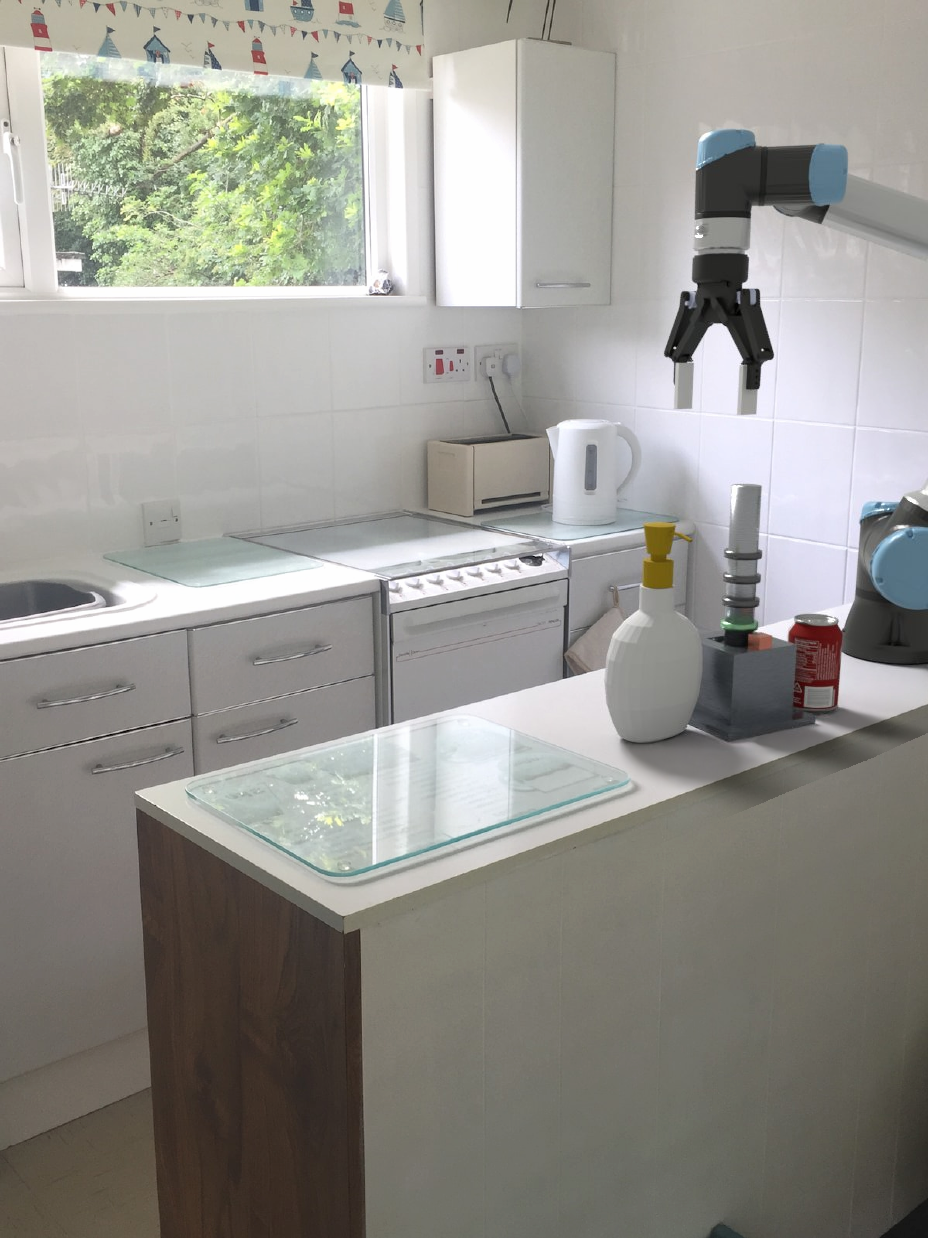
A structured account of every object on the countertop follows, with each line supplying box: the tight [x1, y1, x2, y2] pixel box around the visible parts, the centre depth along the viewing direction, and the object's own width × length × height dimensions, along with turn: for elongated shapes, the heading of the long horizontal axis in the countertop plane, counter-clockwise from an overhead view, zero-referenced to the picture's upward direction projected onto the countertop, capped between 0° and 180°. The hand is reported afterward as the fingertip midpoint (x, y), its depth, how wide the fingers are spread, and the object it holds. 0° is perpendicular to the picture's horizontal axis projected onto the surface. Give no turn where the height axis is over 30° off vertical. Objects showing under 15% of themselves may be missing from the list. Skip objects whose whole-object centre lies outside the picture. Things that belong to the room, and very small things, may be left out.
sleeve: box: [688, 629, 817, 742], centre depth 152 cm, size 14×14×12 cm
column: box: [719, 483, 763, 648], centre depth 149 cm, size 5×5×21 cm
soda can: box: [786, 613, 843, 715], centre depth 156 cm, size 7×7×12 cm
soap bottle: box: [604, 521, 703, 744], centre depth 143 cm, size 14×9×26 cm, turn 127°
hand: (713, 411), depth 169 cm, fingers open, 13 cm apart
